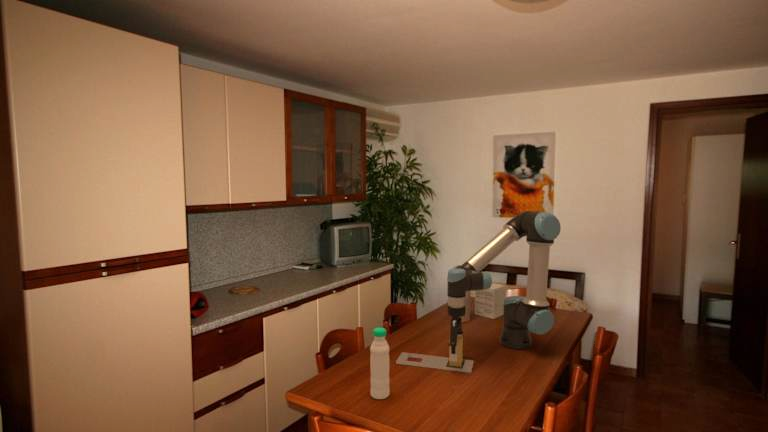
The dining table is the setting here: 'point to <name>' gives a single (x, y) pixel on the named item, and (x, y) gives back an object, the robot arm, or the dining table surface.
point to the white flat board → (434, 362)
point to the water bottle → (379, 365)
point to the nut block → (459, 353)
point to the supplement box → (490, 301)
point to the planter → (466, 308)
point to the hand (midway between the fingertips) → (455, 354)
